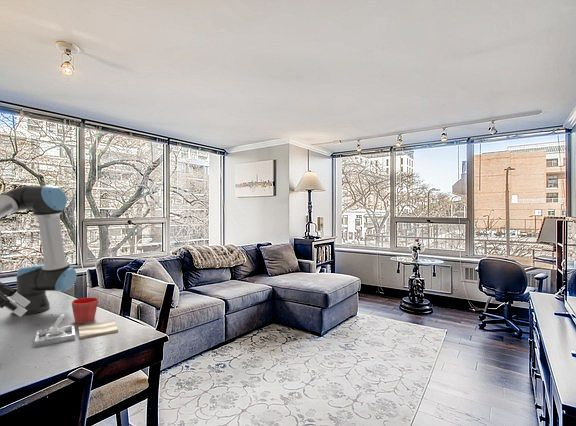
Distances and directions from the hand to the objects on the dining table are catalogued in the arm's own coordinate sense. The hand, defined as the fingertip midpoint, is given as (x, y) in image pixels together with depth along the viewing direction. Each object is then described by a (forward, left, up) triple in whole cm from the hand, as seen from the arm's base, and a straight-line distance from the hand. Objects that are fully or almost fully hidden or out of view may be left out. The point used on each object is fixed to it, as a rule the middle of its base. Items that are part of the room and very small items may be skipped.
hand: (25, 309), depth 126 cm
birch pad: (0, +24, -13) cm, 28 cm away
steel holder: (0, +9, -13) cm, 16 cm away
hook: (0, +9, -14) cm, 17 cm away
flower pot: (-17, +20, -14) cm, 30 cm away
